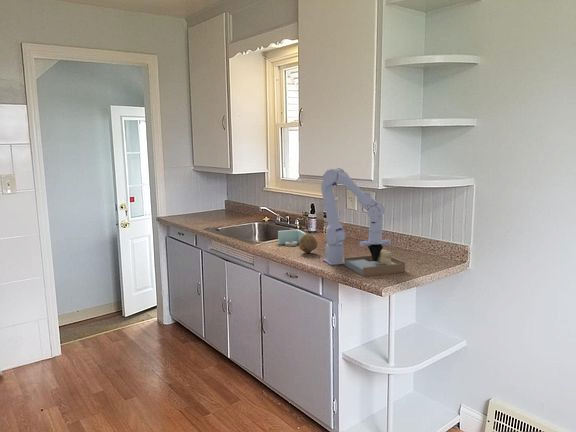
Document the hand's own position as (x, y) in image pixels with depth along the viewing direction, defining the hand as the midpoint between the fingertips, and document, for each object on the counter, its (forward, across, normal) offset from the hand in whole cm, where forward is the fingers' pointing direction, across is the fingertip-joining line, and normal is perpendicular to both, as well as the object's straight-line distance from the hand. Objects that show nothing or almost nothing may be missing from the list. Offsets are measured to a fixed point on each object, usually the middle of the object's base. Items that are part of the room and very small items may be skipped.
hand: (374, 260), depth 210 cm
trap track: (+3, 0, 0) cm, 3 cm away
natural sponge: (+4, -18, +37) cm, 41 cm away
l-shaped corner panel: (+4, -20, +57) cm, 60 cm away
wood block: (+1, +4, 0) cm, 4 cm away
